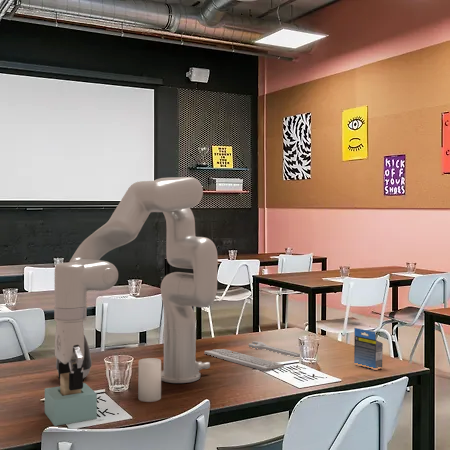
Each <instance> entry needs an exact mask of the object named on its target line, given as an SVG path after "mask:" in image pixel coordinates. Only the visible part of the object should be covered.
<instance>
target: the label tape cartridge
mask: <svg viewBox="0 0 450 450" xmlns="http://www.w3.org/2000/svg"><path fill="white" fill-rule="evenodd" d="M353 334H354V338H353V339H354V340H353V341H354V346H353V347H354V353H353V354H354V356H353V357H354V360H353V361H354V363H358V364H362V365H366V366H369V367H373V368H378V367H382V368H383V352H384V350H383V343H382V342H381V341H378V340H377V337H376V335H377V334H376V331H371V330H366V329H362V328H357V327H354V333H353ZM354 363H353V364H354Z"/></svg>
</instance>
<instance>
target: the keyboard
mask: <svg viewBox="0 0 450 450" xmlns="http://www.w3.org/2000/svg"><path fill="white" fill-rule="evenodd" d="M232 352H233V353H232ZM206 354H207V355H206ZM204 355H206V356H209V355H211V356H210V357H213V356H214V357H213V358H216V357H217V359H221V360H223V359H224V360H225V361H228V362H230V363H235V364H238V365H242V366H246V367H248V368H252V369H257V370H259V371H262V372H268V370H269V371H273V370H276V369H280V367H281V368H284V366H285V365H284V364H283V363H280V362H275V361H271V360H268V359H264V358H261V357H257V356H252V355H249V354H245V353H241V352H239V351H238V352H237V351H233V350H230V349H225V348H220V349H217V348H216V349H212V350H204ZM272 369H273V370H272Z"/></svg>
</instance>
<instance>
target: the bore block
mask: <svg viewBox="0 0 450 450" xmlns="http://www.w3.org/2000/svg"><path fill="white" fill-rule="evenodd" d="M97 402H98V393H97V392H96V391H95V390H93V389H92V388H91V387H90V386H89V385H88V384H87V383H86V382H83V388H82V389H81V393H77V394H71V395H64V396H62V395H61V394H60V386H53V387H45V388H44V414H45V416H47V418H48V419H49V420H50V423H52V425H53V426H54V427H56V426H57V427H58V426H63V425H69V424H75V423H79V422H86V421H90V420H96V419H97V418H98V417H97V416H98V413H97V410H98V407H97V405H98V403H97Z"/></svg>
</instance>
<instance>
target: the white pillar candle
mask: <svg viewBox="0 0 450 450" xmlns="http://www.w3.org/2000/svg"><path fill="white" fill-rule="evenodd" d="M161 371H162V359H160V358H156V357H148V358H147V357H146V358H142V359H141V358H140V359H139V360H138V374H137V375H138V381H137V383H138V386H137V387H138V391H137V392H138V393H137V394H138V395H137V396H138V401H141V402H146V403H153V402H157V401H160V400H161V399H162V380H161Z"/></svg>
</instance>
